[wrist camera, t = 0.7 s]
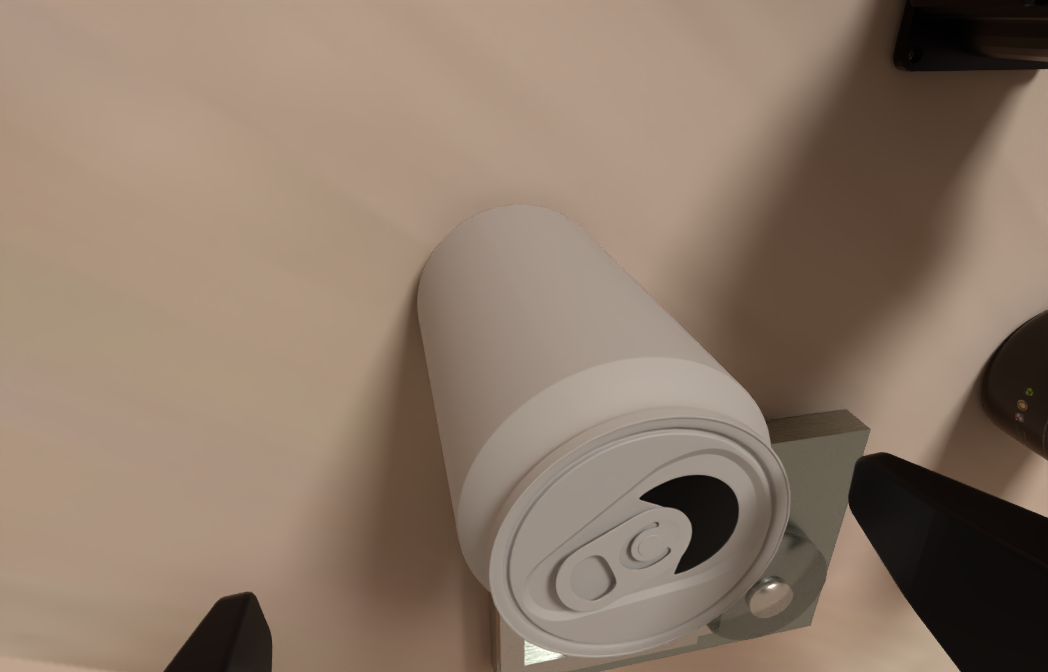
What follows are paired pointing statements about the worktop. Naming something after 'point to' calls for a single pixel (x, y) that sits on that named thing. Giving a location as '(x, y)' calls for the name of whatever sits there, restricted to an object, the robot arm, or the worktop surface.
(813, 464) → the grey flat piece
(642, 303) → the beverage can
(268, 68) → the worktop surface
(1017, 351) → the supplement bottle
